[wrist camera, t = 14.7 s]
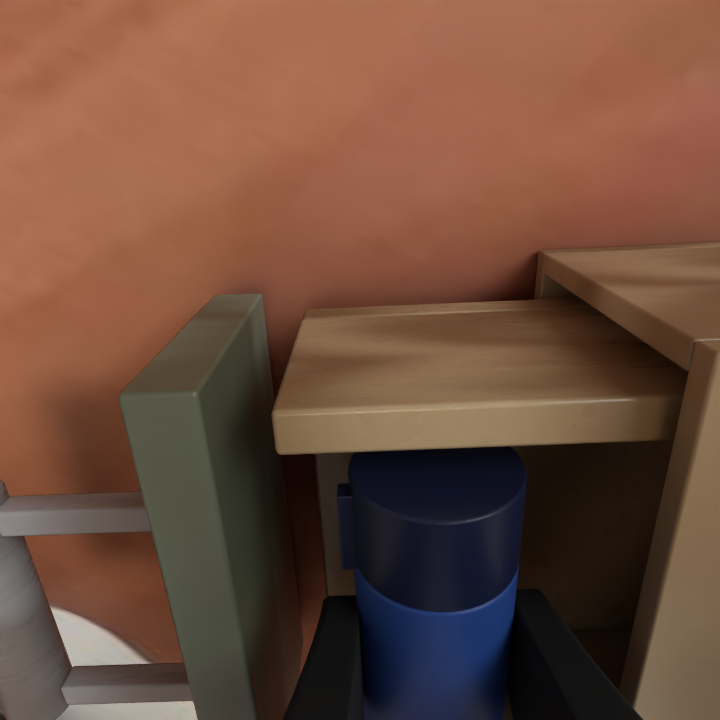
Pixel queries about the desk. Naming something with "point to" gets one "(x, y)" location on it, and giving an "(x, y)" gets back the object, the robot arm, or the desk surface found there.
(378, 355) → the drawer
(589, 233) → the desk surface
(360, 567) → the marker
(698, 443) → the cabinet
